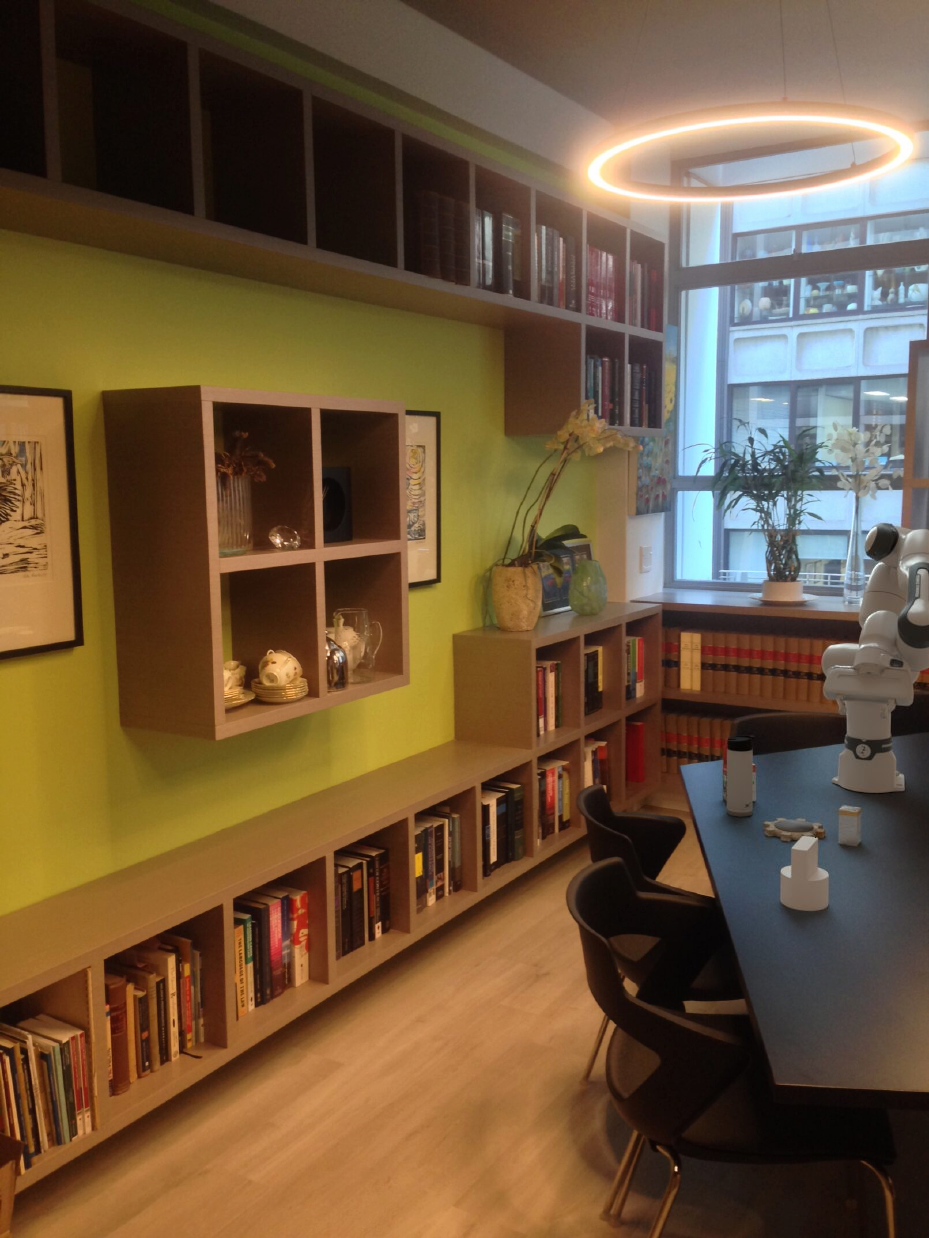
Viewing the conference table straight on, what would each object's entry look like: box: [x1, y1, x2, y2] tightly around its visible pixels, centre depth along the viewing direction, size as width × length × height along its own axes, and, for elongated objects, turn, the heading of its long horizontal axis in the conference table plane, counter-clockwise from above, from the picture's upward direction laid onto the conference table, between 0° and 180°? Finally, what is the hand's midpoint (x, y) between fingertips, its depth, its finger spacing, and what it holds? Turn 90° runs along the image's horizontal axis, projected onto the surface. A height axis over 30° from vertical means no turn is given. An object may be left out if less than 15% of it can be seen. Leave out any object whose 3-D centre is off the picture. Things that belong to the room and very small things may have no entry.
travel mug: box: [726, 734, 755, 818], centre depth 266 cm, size 6×7×20 cm
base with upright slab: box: [779, 836, 830, 912], centre depth 208 cm, size 9×9×12 cm
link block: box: [837, 804, 862, 847], centre depth 243 cm, size 4×4×8 cm
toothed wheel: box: [762, 817, 826, 843], centre depth 251 cm, size 14×14×2 cm
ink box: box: [722, 745, 757, 803], centre depth 278 cm, size 4×8×15 cm, turn 98°
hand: (862, 715), depth 249 cm, fingers open, 8 cm apart
